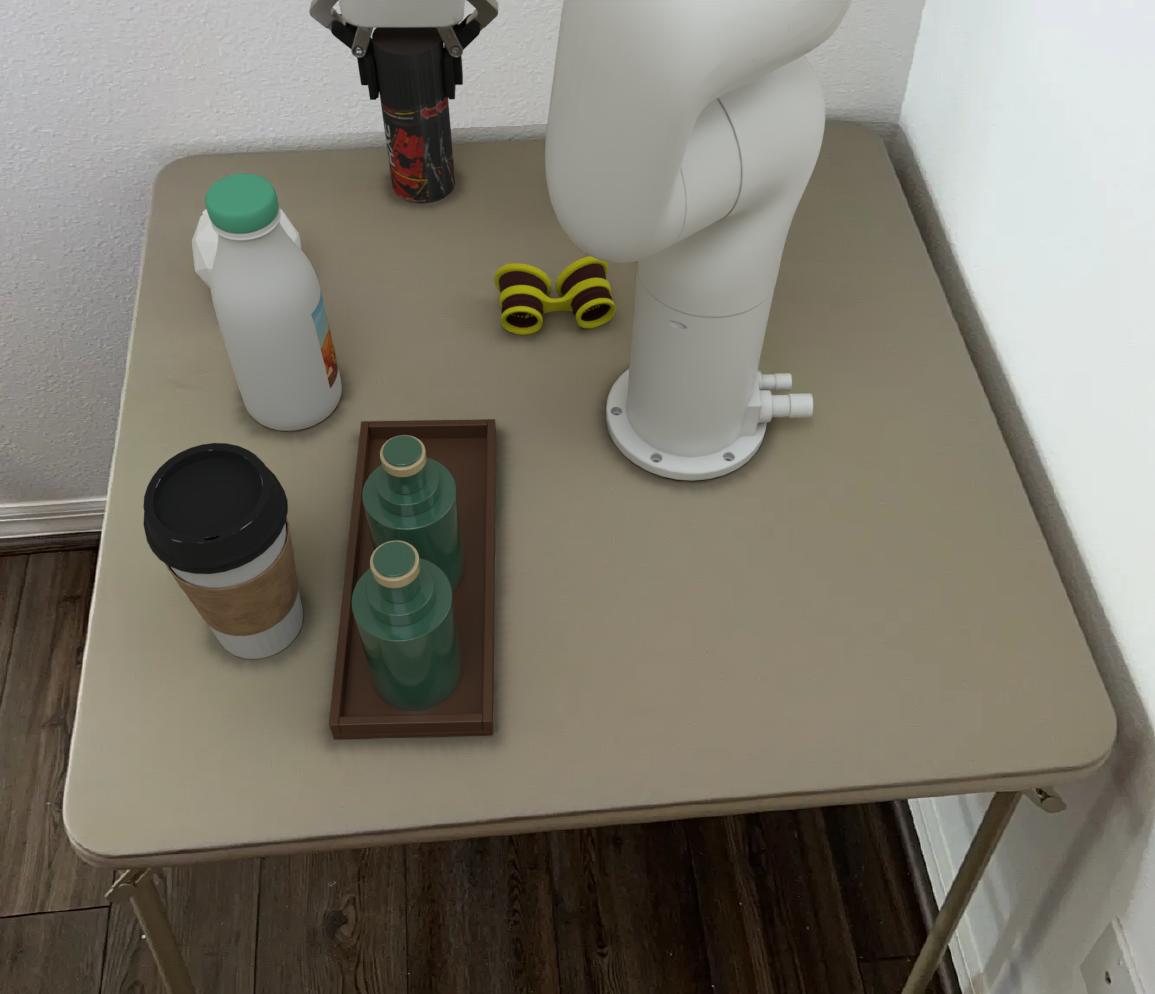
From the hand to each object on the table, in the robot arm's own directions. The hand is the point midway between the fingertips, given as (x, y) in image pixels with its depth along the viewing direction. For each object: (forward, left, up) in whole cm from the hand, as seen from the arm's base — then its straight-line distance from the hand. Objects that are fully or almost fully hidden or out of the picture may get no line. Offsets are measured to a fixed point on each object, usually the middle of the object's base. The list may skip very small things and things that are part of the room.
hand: (413, 89), depth 99 cm
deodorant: (0, 0, -10) cm, 10 cm away
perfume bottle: (+14, +13, -10) cm, 22 cm away
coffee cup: (+9, +48, -10) cm, 50 cm away
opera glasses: (-12, +18, -10) cm, 24 cm away
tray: (-2, +44, -10) cm, 45 cm away
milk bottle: (+9, +27, -10) cm, 30 cm away
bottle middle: (-2, +44, -9) cm, 45 cm away
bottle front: (-2, +52, -9) cm, 53 cm away
